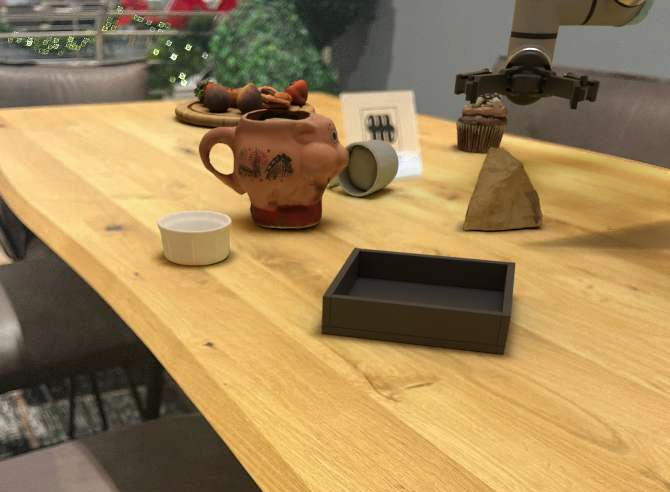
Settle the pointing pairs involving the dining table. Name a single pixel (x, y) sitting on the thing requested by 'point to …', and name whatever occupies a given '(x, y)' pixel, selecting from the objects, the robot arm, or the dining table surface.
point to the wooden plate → (239, 102)
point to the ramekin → (195, 237)
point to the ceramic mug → (367, 168)
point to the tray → (421, 300)
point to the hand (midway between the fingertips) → (524, 95)
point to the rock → (503, 196)
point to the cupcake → (482, 124)
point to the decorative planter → (280, 164)
